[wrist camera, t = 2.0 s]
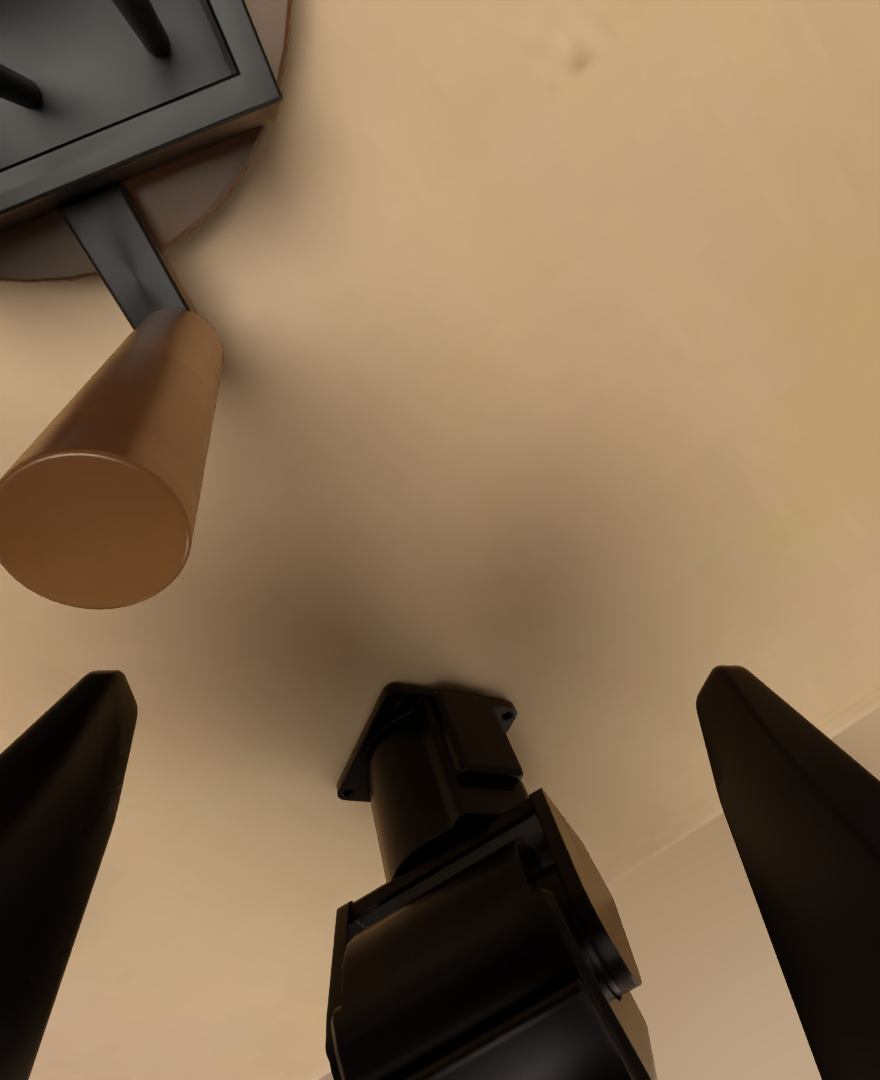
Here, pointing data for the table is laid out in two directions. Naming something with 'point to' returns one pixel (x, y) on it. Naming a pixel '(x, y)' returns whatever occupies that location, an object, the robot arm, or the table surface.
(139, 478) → the dish rack
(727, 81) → the table surface
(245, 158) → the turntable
